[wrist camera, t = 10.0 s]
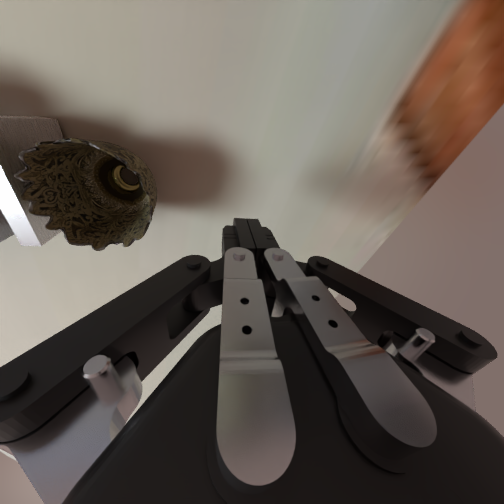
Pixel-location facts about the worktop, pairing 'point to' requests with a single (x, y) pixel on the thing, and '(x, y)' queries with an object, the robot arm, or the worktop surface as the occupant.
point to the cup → (88, 191)
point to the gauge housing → (4, 228)
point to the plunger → (10, 188)
